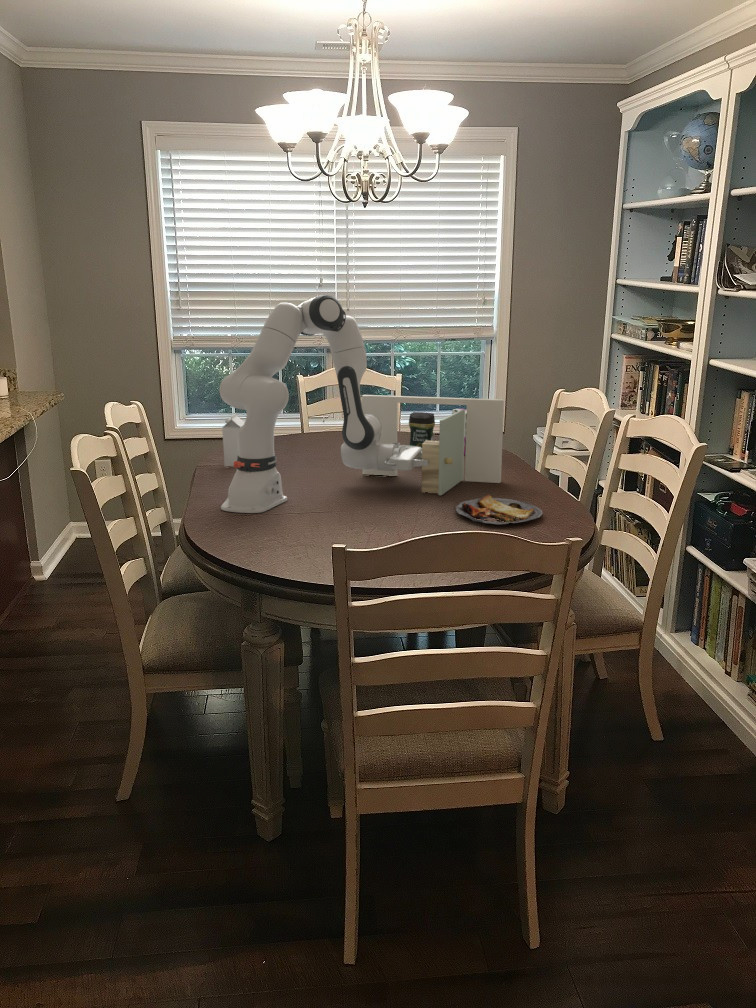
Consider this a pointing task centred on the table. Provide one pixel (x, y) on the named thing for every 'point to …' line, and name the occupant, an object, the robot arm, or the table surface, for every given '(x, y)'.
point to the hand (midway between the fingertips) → (431, 459)
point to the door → (451, 451)
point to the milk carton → (231, 439)
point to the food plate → (497, 510)
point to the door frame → (480, 431)
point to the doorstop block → (430, 467)
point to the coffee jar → (421, 428)
